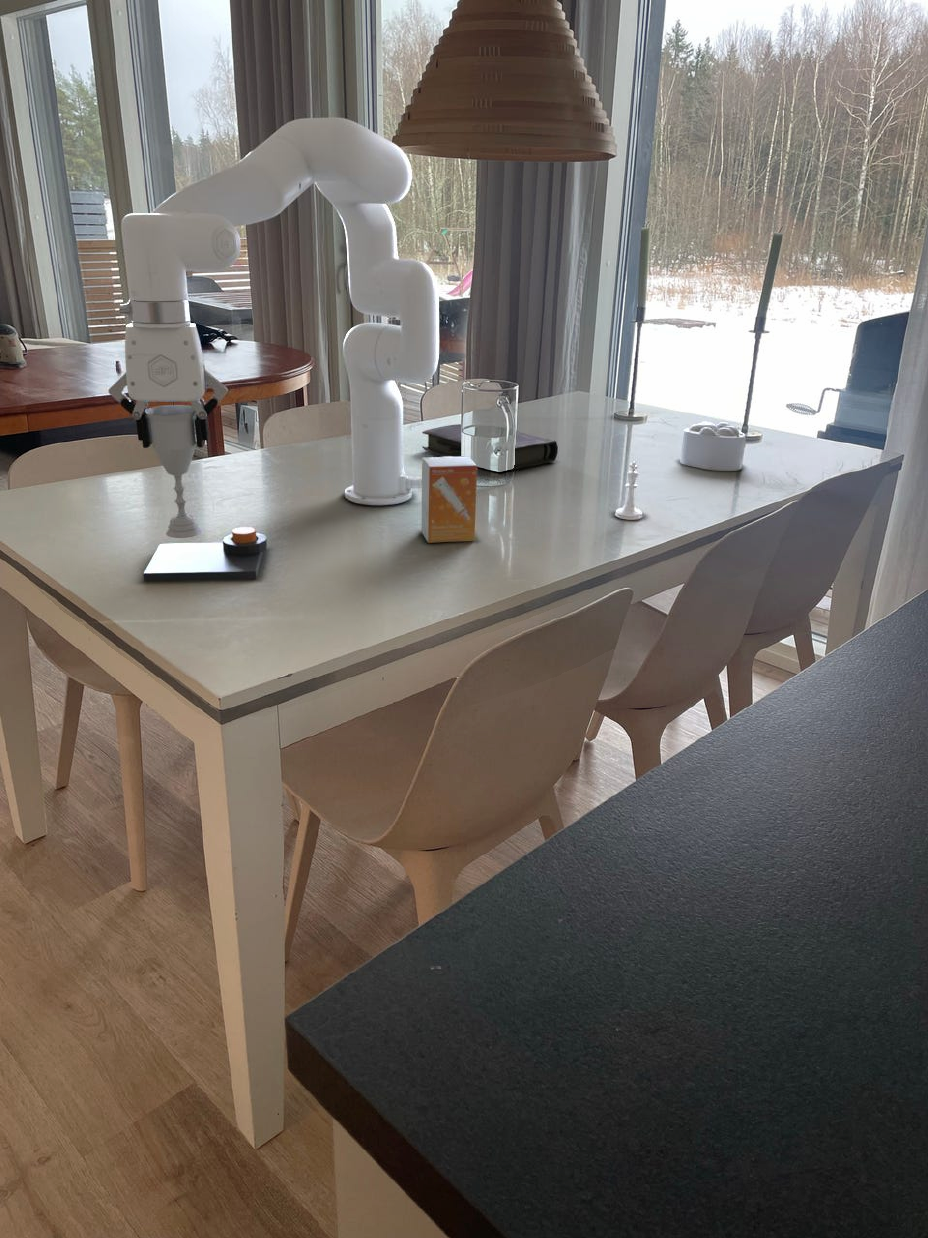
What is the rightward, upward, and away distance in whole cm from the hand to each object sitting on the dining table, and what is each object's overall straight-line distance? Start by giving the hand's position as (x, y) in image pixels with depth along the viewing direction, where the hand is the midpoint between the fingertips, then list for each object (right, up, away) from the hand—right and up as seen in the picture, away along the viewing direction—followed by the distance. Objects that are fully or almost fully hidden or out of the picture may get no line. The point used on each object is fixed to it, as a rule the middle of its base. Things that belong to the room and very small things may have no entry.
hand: (174, 444), depth 132 cm
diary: (+46, +11, +75) cm, 89 cm away
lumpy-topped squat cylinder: (+96, +9, +73) cm, 121 cm away
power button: (+7, -13, +13) cm, 19 cm away
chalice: (0, -12, +5) cm, 13 cm away
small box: (+38, -11, +24) cm, 47 cm away
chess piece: (+71, -6, +37) cm, 80 cm away
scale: (+2, -17, +10) cm, 19 cm away
